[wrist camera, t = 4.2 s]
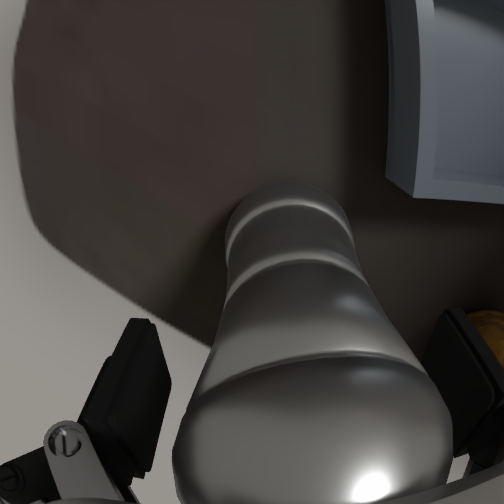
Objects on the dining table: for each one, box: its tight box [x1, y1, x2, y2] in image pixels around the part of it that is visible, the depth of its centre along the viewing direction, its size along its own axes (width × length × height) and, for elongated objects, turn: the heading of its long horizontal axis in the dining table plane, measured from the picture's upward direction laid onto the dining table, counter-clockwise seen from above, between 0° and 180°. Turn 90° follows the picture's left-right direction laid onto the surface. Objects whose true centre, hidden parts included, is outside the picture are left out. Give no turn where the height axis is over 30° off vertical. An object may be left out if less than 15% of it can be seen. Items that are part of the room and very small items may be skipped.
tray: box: [385, 0, 504, 204], centre depth 12 cm, size 14×14×4 cm
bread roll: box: [467, 310, 504, 369], centre depth 20 cm, size 13×10×8 cm
